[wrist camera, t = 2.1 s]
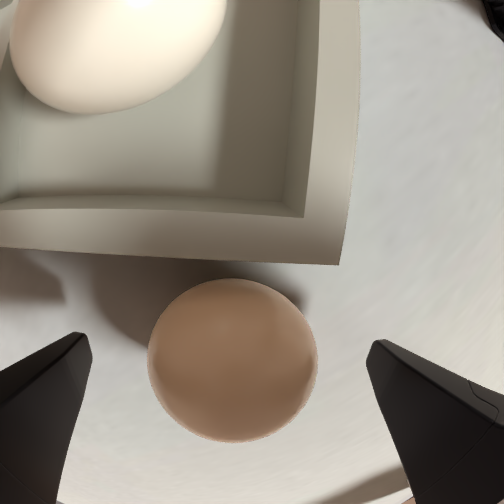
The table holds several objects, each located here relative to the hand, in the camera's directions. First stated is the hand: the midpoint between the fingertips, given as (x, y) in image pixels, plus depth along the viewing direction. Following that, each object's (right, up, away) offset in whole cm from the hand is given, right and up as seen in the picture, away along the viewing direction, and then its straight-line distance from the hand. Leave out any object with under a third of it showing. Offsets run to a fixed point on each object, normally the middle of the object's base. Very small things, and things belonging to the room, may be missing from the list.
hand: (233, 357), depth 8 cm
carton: (-7, +14, -3) cm, 16 cm away
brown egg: (0, +1, +2) cm, 2 cm away
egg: (-3, +9, -2) cm, 9 cm away
